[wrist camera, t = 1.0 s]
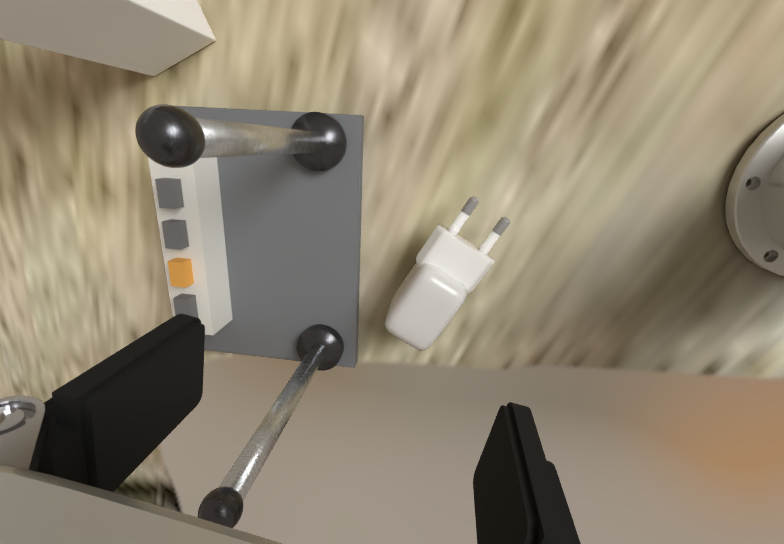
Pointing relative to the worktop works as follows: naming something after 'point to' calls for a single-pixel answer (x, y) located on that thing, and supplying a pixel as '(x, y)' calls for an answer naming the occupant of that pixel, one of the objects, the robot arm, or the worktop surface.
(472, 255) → the power adapter
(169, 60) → the milk
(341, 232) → the mat
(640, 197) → the worktop surface
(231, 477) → the cord post
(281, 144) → the cord post
